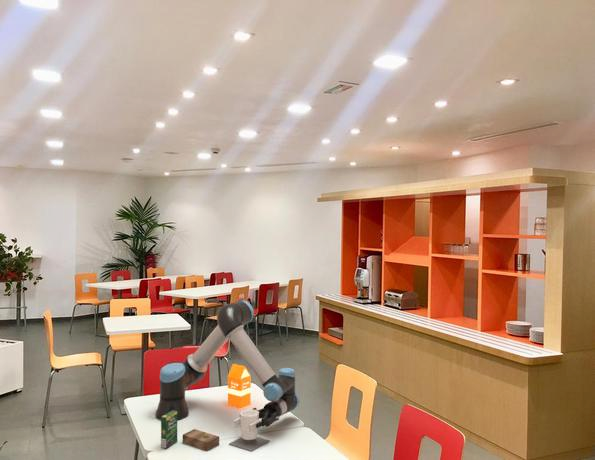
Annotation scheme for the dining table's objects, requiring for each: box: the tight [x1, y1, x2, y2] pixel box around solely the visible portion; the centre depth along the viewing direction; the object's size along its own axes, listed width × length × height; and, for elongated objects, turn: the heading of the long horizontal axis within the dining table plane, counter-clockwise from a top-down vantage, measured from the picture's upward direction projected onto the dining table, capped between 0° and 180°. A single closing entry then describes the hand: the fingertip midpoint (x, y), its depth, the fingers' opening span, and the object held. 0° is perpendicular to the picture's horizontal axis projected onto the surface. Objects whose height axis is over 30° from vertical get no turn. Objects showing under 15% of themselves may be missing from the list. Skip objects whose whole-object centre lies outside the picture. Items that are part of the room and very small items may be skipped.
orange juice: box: [227, 363, 252, 409], centre depth 256 cm, size 8×9×20 cm
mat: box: [228, 436, 270, 453], centre depth 210 cm, size 12×12×1 cm
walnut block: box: [182, 428, 220, 452], centre depth 209 cm, size 14×7×5 cm, turn 57°
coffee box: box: [160, 410, 178, 450], centre depth 208 cm, size 8×3×13 cm, turn 159°
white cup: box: [239, 409, 260, 440], centre depth 210 cm, size 8×8×10 cm
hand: (242, 426), depth 206 cm, fingers closed on white cup, 8 cm apart
